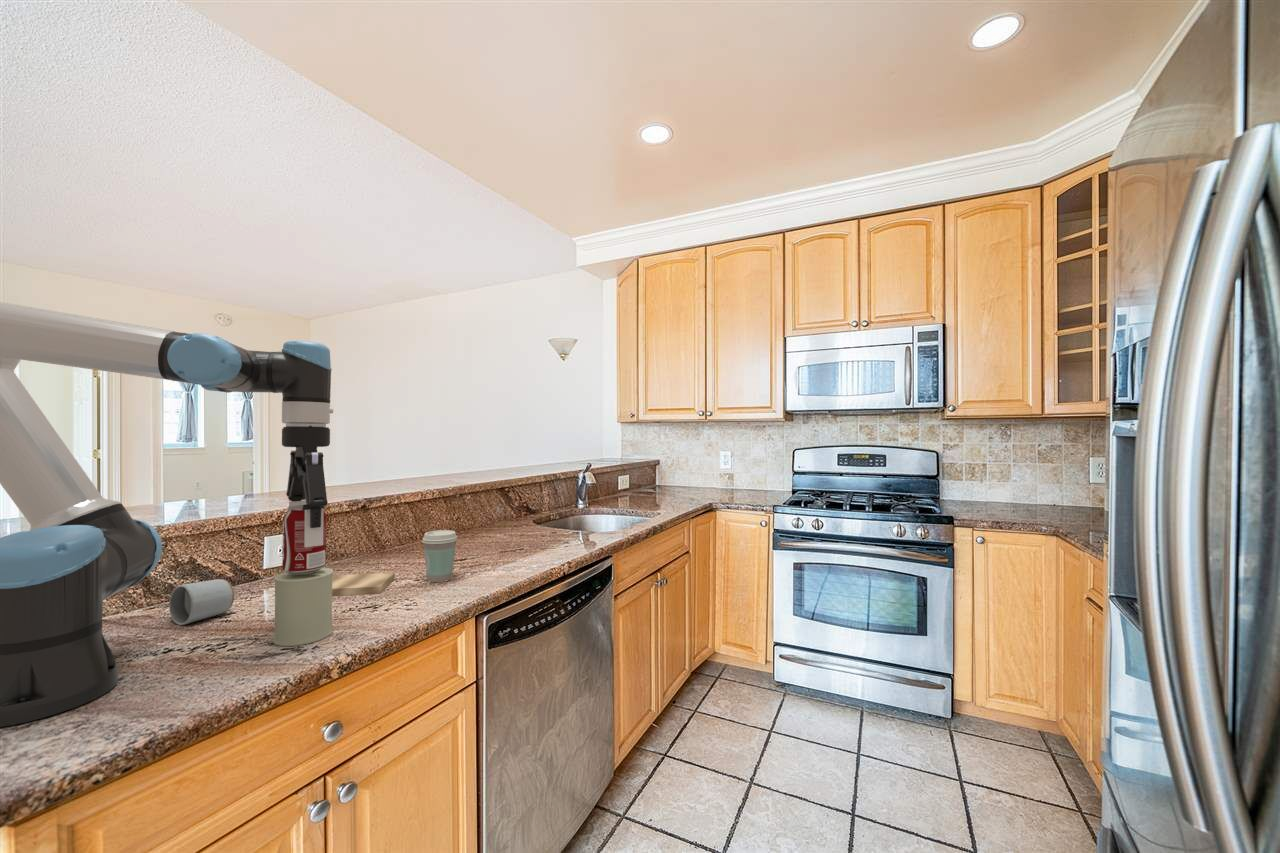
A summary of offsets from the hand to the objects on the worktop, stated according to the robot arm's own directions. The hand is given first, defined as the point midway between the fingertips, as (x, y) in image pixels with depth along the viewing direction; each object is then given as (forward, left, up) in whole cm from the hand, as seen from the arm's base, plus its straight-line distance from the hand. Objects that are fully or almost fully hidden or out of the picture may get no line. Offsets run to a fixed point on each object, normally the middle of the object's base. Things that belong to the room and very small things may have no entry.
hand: (305, 540), depth 95 cm
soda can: (0, 0, -6) cm, 6 cm away
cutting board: (-12, +28, -18) cm, 35 cm away
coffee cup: (+5, +38, -18) cm, 42 cm away
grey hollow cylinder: (-29, +5, -18) cm, 34 cm away
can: (0, 0, -18) cm, 18 cm away
